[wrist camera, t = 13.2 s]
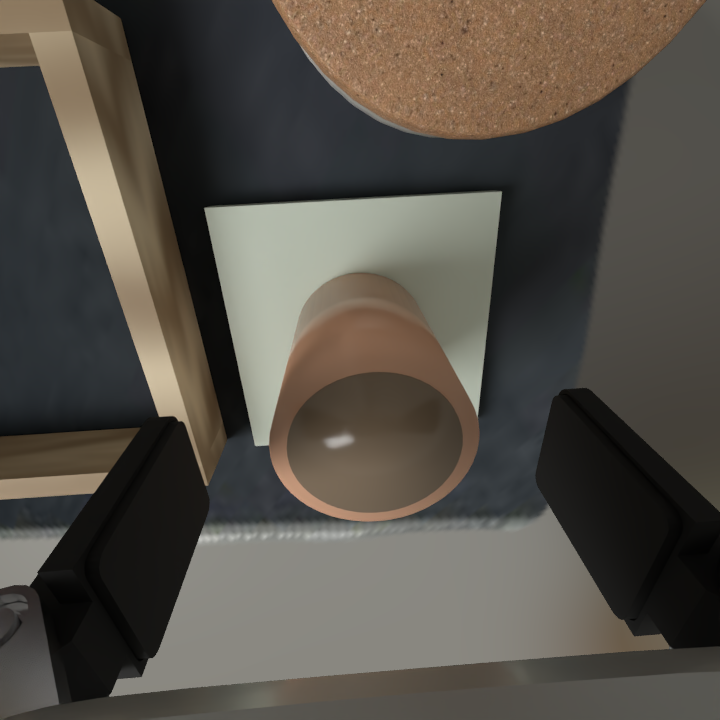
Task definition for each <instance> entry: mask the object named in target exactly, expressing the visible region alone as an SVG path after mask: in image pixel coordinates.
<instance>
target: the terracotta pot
mask: <svg viewBox="0 0 720 720" xmlns="http://www.w3.org/2000/svg"><path fill="white" fill-rule="evenodd" d="M478 443H479V424H478V418H477V415H476V411H475V408H474V406H473V404H472V402H471V400H470V398H469V396H468V395H467V393H466V391H465V389H464V387H463V386H462V384H461V382H460V380H459V378H458V376H457V375H456V373H455V371H454V369H453V367H452V366H451V364H450V362H449V360H448V358H447V357H446V355H445V353H444V351H443V349H442V348H441V346H440V344H439V342H438V340H437V339H436V337H435V335H434V333H433V331H432V330H431V328H430V326H429V324H428V322H427V320H426V319H425V317H424V315H423V313H422V311H421V310H420V308H419V306H418V304H417V302H416V301H415V300H414V298H413V297H412V295H411V294H410V293H409V292H408V291H407V290H406V289H405V288H404V287H402V286H401V285H400V284H398V283H397V282H395V281H393V280H391V279H389V278H387V277H384V276H381V275H377V274H371V273H352V274H347V275H343V276H339V277H337V278H334V279H332V280H330V281H328V282H326V283H325V284H323V285H322V286H321V287H319V288H318V289H317V290H316V291H315V292H314V293H313V294H312V295H311V296H310V297H309V298H308V300H307V301H306V303H305V304H304V306H303V308H302V310H301V313H300V315H299V318H298V322H297V326H296V330H295V334H294V338H293V342H292V346H291V350H290V354H289V358H288V362H287V366H286V370H285V374H284V378H283V382H282V386H281V389H280V393H279V397H278V401H277V405H276V409H275V413H274V417H273V421H272V425H271V430H270V436H269V449H270V456H271V460H272V464H273V467H274V469H275V471H276V473H277V475H278V477H279V478H280V480H281V481H282V483H283V484H284V485H285V487H286V488H287V489H288V490H289V491H290V492H291V493H292V494H293V495H294V496H295V497H297V498H298V499H299V500H300V501H302V502H303V503H305V504H306V505H308V506H309V507H311V508H313V509H315V510H317V511H319V512H322V513H325V514H327V515H330V516H334V517H337V518H341V519H347V520H353V521H382V520H390V519H395V518H400V517H403V516H407V515H410V514H413V513H416V512H418V511H420V510H423V509H425V508H427V507H429V506H431V505H432V504H434V503H436V502H437V501H439V500H440V499H442V498H443V497H445V496H446V495H447V494H448V493H449V492H451V491H452V490H453V489H454V488H455V487H456V486H457V485H458V484H459V483H460V481H461V480H462V479H463V478H464V476H465V475H466V473H467V472H468V470H469V468H470V467H471V465H472V463H473V461H474V458H475V455H476V452H477V448H478Z"/></svg>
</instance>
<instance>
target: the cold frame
mask: <svg viewBox="0 0 720 720" xmlns="http://www.w3.org/2000/svg"><path fill="white" fill-rule="evenodd" d="M39 65H40V68H41V71H42V74H43V77H44V80H45V82H46V85H47V88H48V91H49V94H50V97H51V100H52V103H53V106H54V109H55V112H56V115H57V118H58V121H59V124H60V127H61V129H62V132H63V135H64V138H65V141H66V144H67V147H68V150H69V153H70V156H71V159H72V162H73V165H74V168H75V171H76V174H77V176H78V179H79V182H80V185H81V188H82V191H83V194H84V197H85V200H86V203H87V206H88V209H89V212H90V215H91V218H92V221H93V223H94V226H95V229H96V232H97V235H98V238H99V241H100V244H101V247H102V250H103V253H104V256H105V259H106V262H107V265H108V268H109V270H110V273H111V276H112V279H113V282H114V285H115V288H116V291H117V294H118V297H119V300H120V303H121V306H122V309H123V312H124V315H125V317H126V320H127V323H128V326H129V329H130V332H131V335H132V338H133V341H134V344H135V347H136V350H137V353H138V356H139V359H140V362H141V364H142V367H143V370H144V373H145V376H146V379H147V382H148V385H149V388H150V391H151V394H152V397H153V400H154V403H155V406H156V409H157V411H158V414H159V417H164V416H174V417H176V418H177V420H178V421H182V422H184V423H185V426H186V429H187V432H188V435H189V438H190V441H191V444H192V447H193V450H194V453H195V456H196V459H197V462H198V465H199V468H200V471H201V474H202V477H203V480H204V483H205V485H209V482H210V480H211V477H212V475H213V473H214V470H215V468H216V465H217V463H218V461H219V458H220V456H221V453H222V451H223V449H224V446H225V444H226V441H227V436H226V433H225V429H224V425H223V421H222V417H221V413H220V409H219V405H218V401H217V397H216V393H215V389H214V385H213V381H212V377H211V373H210V369H209V365H208V361H207V357H206V353H205V349H204V346H203V342H202V338H201V334H200V330H199V326H198V322H197V318H196V314H195V310H194V306H193V302H192V298H191V294H190V290H189V286H188V282H187V278H186V274H185V270H184V266H183V262H182V259H181V255H180V251H179V247H178V243H177V239H176V235H175V231H174V227H173V223H172V219H171V215H170V211H169V207H168V203H167V199H166V195H165V191H164V187H163V183H162V179H161V175H160V172H159V168H158V164H157V160H156V156H155V152H154V148H153V144H152V140H151V136H150V132H149V128H148V124H147V120H146V116H145V112H144V108H143V104H142V100H141V96H140V92H139V89H138V85H137V81H136V77H135V73H134V69H133V65H132V61H131V57H130V53H129V49H128V45H127V41H126V37H125V33H124V29H123V25H122V21H121V18H119V17H118V16H116V15H115V14H113V13H112V12H110V11H109V10H107V9H106V8H104V7H103V6H102V5H100V4H99V3H97V2H96V1H94V0H0V67H19V66H39ZM140 428H141V427H140ZM140 428H125V429H109V430H94V431H79V432H64V433H48V434H33V435H18V436H2V437H0V500H1V499H16V498H30V497H45V496H59V495H74V494H89V493H95V491H96V490H97V488H98V487H99V486H100V484H101V483H102V481H103V480H104V479H105V477H106V476H107V474H108V473H109V472H110V470H111V469H112V467H113V466H114V465H115V463H116V462H117V460H118V459H119V458H120V456H121V455H122V453H123V452H124V451H125V449H126V448H127V446H128V445H129V444H130V442H131V441H132V439H133V438H134V437H135V435H136V434H137V432H138V431H139V430H140Z"/></svg>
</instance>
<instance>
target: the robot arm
mask: <svg viewBox="0 0 720 720" xmlns="http://www.w3.org/2000/svg"><path fill="white" fill-rule="evenodd" d="M536 482H537V485H538V488H539V489H540V491H541V493H542V494H543V496H544V498H545V499H546V501H547V503H548V504H549V506H550V508H551V509H552V511H553V513H554V514H555V516H556V518H557V519H558V521H559V523H560V524H561V526H562V528H563V530H564V531H565V533H566V535H567V536H568V538H569V539H570V541H571V543H572V545H573V546H574V548H575V549H576V551H577V553H578V555H579V556H580V558H581V560H582V561H583V563H584V565H585V566H586V568H587V570H588V571H589V573H590V575H591V576H592V578H593V580H594V581H595V583H596V585H597V586H598V588H599V590H600V591H601V593H602V595H603V596H604V598H605V600H606V601H607V603H608V605H609V606H610V608H611V610H612V611H613V613H614V614H615V615H616V616H617V617H618V618H619V619H621V620H625V622H626V624H627V625H628V627H629V629H630V630H631V632H632V634H633V635H634V636H642V635H655V634H660V633H661V634H662V635H663V637H664V638H665V640H666V641H667V643H668V644H669V649H665V650H648V651H632V652H618V653H605V654H592V655H580V656H566V657H554V658H540V659H528V660H516V661H502V662H489V663H477V664H465V665H453V666H441V667H429V668H417V669H406V670H394V671H381V672H369V673H357V674H345V675H334V676H322V677H311V678H300V679H288V680H278V681H267V682H255V683H244V684H232V685H221V686H210V687H200V688H188V689H178V690H169V691H160V692H151V693H142V694H132V695H123V696H114V697H109V695H110V694H111V692H112V690H113V687H114V685H115V682H116V680H117V679H123V678H135V677H142V674H143V672H144V669H145V666H146V664H147V661H148V658H153V657H154V656H155V655H156V653H157V652H158V650H159V647H160V644H161V642H162V639H163V636H164V633H165V631H166V628H167V625H168V622H169V620H170V617H171V614H172V611H173V608H174V606H175V602H176V600H177V597H178V595H179V592H180V589H181V586H182V583H183V580H184V578H185V575H186V572H187V569H188V567H189V564H190V561H191V558H192V556H193V553H194V550H195V547H196V545H197V542H198V539H199V536H200V533H201V531H202V528H203V525H204V522H205V520H206V517H207V514H208V511H209V496H208V493H207V490H206V487H205V483H204V480H203V477H202V474H201V471H200V468H199V465H198V462H197V459H196V456H195V453H194V450H193V447H192V444H191V441H190V438H189V435H188V432H187V429H186V426H185V423H184V422H182V421H178V420H177V418H176V417H174V416H164V417H151V418H148V419H147V420H146V421H145V423H144V424H143V425H142V427H141V428H140V430H139V431H138V432H137V434H136V435H135V437H134V438H133V439H132V441H131V442H130V444H129V445H128V446H127V448H126V449H125V451H124V452H123V453H122V455H121V456H120V458H119V459H118V460H117V462H116V463H115V465H114V466H113V467H112V469H111V470H110V472H109V473H108V474H107V476H106V477H105V479H104V480H103V481H102V483H101V484H100V486H99V487H98V488H97V490H96V491H95V493H94V494H93V495H92V497H91V498H90V500H89V501H88V502H87V504H86V505H85V507H84V508H83V509H82V511H81V512H80V514H79V515H78V516H77V518H76V519H75V521H74V522H73V523H72V525H71V526H70V528H69V529H68V530H67V532H66V533H65V535H64V536H63V537H62V539H61V540H60V542H59V543H58V545H57V546H56V547H55V549H54V550H53V551H52V553H51V554H50V556H49V557H48V558H47V560H46V561H45V563H44V564H43V565H42V567H41V568H40V570H39V571H38V572H37V573H38V575H37V577H36V578H35V579H34V581H33V582H32V584H31V585H30V587H29V586H26V585H14V586H10V587H6V588H2V589H0V720H720V512H719V511H718V510H717V509H716V508H715V507H714V506H713V505H712V504H711V503H709V501H708V500H706V499H705V498H704V497H703V496H702V495H701V494H700V493H699V492H698V491H697V490H696V489H695V488H694V487H693V486H692V485H691V484H689V483H688V482H687V481H686V480H685V479H684V478H683V477H682V476H681V475H680V474H679V473H678V472H677V471H676V470H675V469H673V467H671V466H670V465H669V464H668V463H667V462H666V461H665V460H664V459H663V458H662V457H661V456H660V455H658V454H657V452H655V451H654V450H653V449H652V448H651V447H650V446H649V445H648V444H647V443H646V442H645V441H644V440H643V439H642V438H640V437H639V435H637V434H636V433H635V432H634V431H633V430H632V429H631V428H630V427H629V426H628V425H627V424H626V423H625V422H624V421H623V420H622V419H620V418H619V417H618V416H617V415H616V414H615V413H614V412H613V411H612V410H611V409H610V408H609V407H608V406H607V405H606V404H605V403H604V402H602V401H601V400H600V399H599V398H598V397H597V396H596V395H595V394H594V393H593V392H592V391H591V390H589V389H587V388H578V389H564V390H562V391H561V392H560V393H559V395H558V396H555V397H554V398H553V400H552V404H551V409H550V413H549V417H548V422H547V426H546V430H545V435H544V439H543V443H542V448H541V452H540V457H539V461H538V465H537V470H536Z"/></svg>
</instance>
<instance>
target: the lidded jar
mask: <svg viewBox="0 0 720 720" xmlns="http://www.w3.org/2000/svg"><path fill="white" fill-rule="evenodd" d="M272 2H273V4H274V5H275V7H276V8H277V10H278V12H279V13H280V15H281V17H282V18H283V20H284V21H285V23H286V25H287V26H288V28H289V30H290V31H291V33H292V34H293V36H294V38H295V39H296V41H297V42H298V43H299V44H300V46H301V48H302V49H303V51H304V52H305V54H306V56H307V57H308V59H309V60H310V61H311V62H312V64H313V65H314V66H315V67H316V68H317V70H318V71H319V72H320V73H321V74H322V76H323V77H324V78H325V79H326V81H327V82H328V83H329V84H330V85H331V86H332V87H333V88H334V89H335V90H337V91H338V92H339V93H340V94H341V95H342V96H343V97H344V98H346V99H347V100H348V101H349V102H350V103H351V104H352V105H353V106H355V107H357V108H358V109H360V110H361V111H363V112H364V113H366V114H368V115H369V116H371V117H372V118H374V119H376V120H377V121H379V122H381V123H384V124H386V125H389V126H391V127H394V128H396V129H399V130H401V131H403V132H407V133H412V134H417V135H422V136H426V137H431V138H447V139H489V138H496V137H502V136H508V135H514V134H520V133H525V132H528V131H531V130H534V129H537V128H540V127H543V126H546V125H549V124H552V123H555V122H558V121H561V120H563V119H565V118H567V117H569V116H571V115H573V114H575V113H577V112H578V111H580V110H582V109H584V108H586V107H588V106H590V105H592V104H594V103H596V102H598V101H599V100H601V99H602V98H604V97H605V96H606V95H608V94H609V93H611V92H612V91H613V90H615V89H616V88H618V87H619V86H620V85H622V84H623V83H625V82H626V81H627V80H629V79H630V78H632V77H633V76H634V75H636V74H637V73H638V72H639V71H640V70H641V69H642V68H643V67H644V66H645V65H646V64H647V63H649V62H650V61H651V60H652V59H653V58H654V57H655V56H656V55H657V54H658V53H659V52H660V51H662V50H663V49H664V48H665V47H666V46H667V45H668V44H669V43H670V42H671V41H672V40H673V39H674V37H675V36H676V35H677V34H678V33H679V32H680V31H681V29H682V28H683V27H684V26H685V25H686V24H687V23H688V21H689V20H690V19H691V18H692V17H693V16H694V14H695V13H696V12H697V11H698V10H699V9H700V7H701V6H702V5H703V4H704V3H705V2H706V0H272Z"/></svg>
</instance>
